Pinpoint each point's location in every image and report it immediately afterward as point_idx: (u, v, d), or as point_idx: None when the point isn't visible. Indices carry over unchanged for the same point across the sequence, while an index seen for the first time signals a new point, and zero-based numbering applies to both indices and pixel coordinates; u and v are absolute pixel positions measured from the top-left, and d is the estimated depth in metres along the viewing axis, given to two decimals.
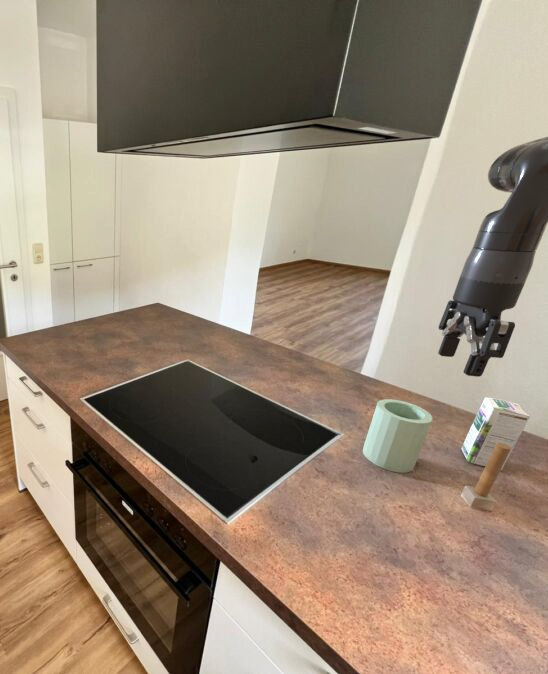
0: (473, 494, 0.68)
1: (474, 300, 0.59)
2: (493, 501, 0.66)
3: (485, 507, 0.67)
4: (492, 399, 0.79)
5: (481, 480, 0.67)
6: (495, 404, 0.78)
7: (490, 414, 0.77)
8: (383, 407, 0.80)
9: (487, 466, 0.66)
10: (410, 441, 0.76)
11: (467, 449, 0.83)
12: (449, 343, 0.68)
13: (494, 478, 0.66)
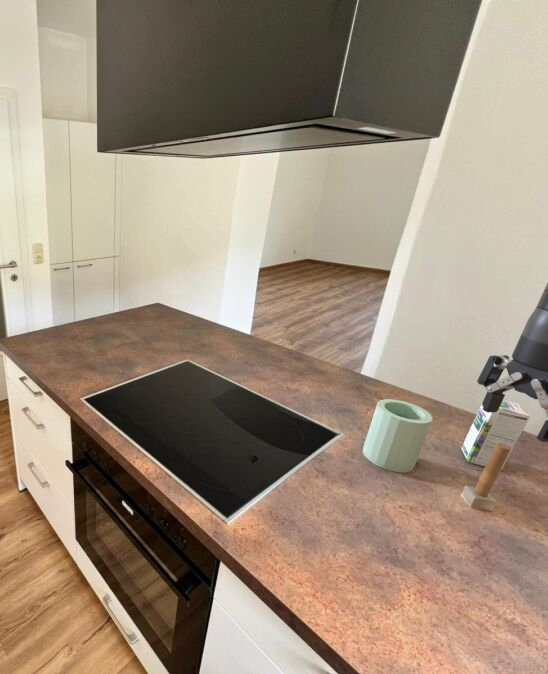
0: (473, 494, 0.68)
1: None
2: (493, 501, 0.66)
3: (485, 507, 0.67)
4: None
5: (481, 480, 0.67)
6: None
7: (489, 414, 0.77)
8: (383, 407, 0.80)
9: (487, 466, 0.66)
10: (410, 441, 0.76)
11: (467, 449, 0.83)
12: (495, 399, 0.65)
13: (494, 478, 0.66)
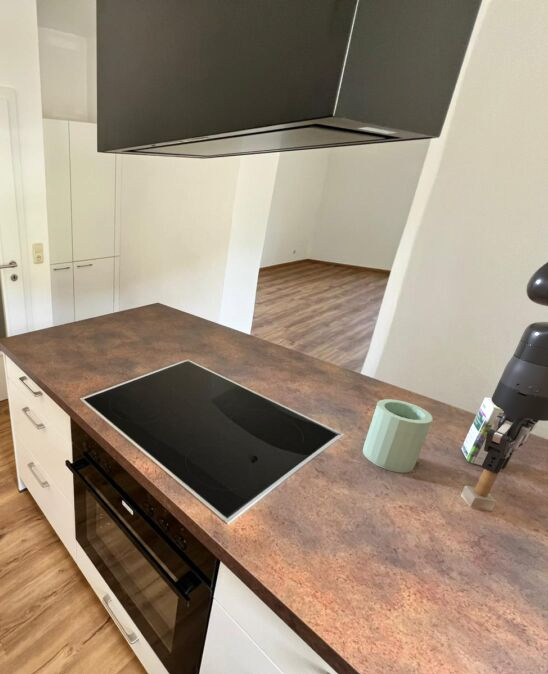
0: (473, 494, 0.68)
1: None
2: (493, 500, 0.66)
3: (485, 507, 0.67)
4: None
5: (481, 480, 0.67)
6: None
7: (489, 414, 0.77)
8: (383, 407, 0.80)
9: None
10: (410, 441, 0.76)
11: (467, 449, 0.83)
12: None
13: (494, 478, 0.66)
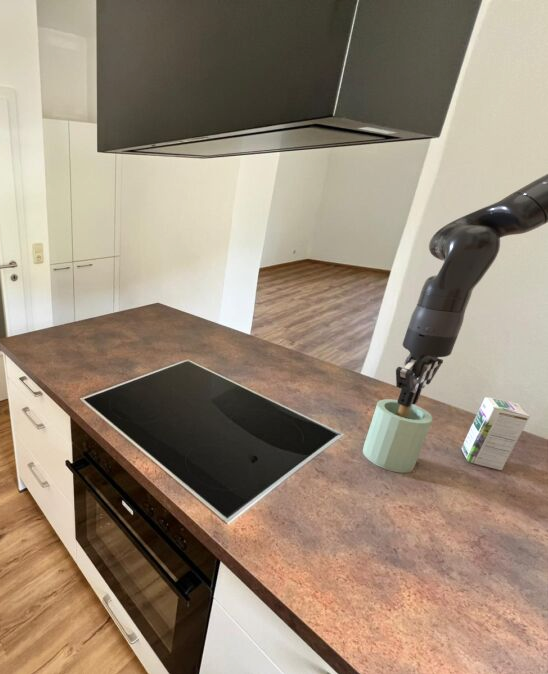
0: None
1: None
2: None
3: None
4: (492, 399, 0.79)
5: (398, 414, 0.79)
6: (495, 404, 0.78)
7: (489, 414, 0.77)
8: (383, 407, 0.80)
9: None
10: (410, 441, 0.76)
11: (467, 449, 0.83)
12: None
13: (407, 412, 0.78)
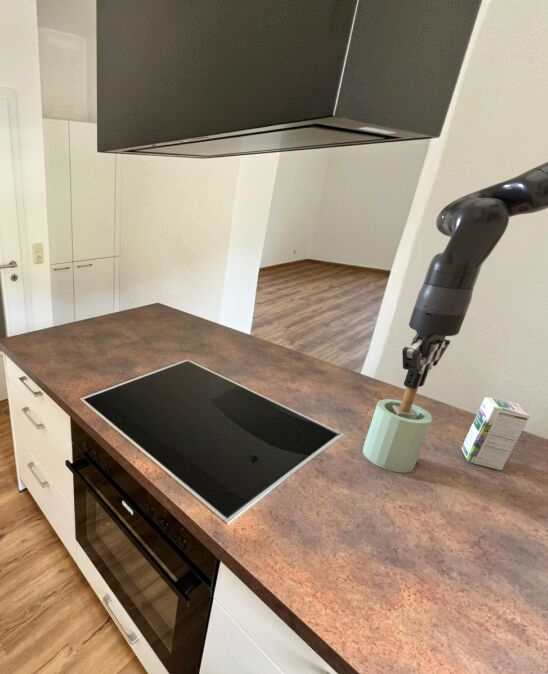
0: (398, 410, 0.78)
1: None
2: (413, 414, 0.77)
3: None
4: (492, 399, 0.79)
5: (404, 397, 0.77)
6: (495, 404, 0.78)
7: (489, 414, 0.77)
8: (383, 407, 0.80)
9: None
10: (410, 441, 0.76)
11: (467, 449, 0.83)
12: None
13: (414, 394, 0.76)
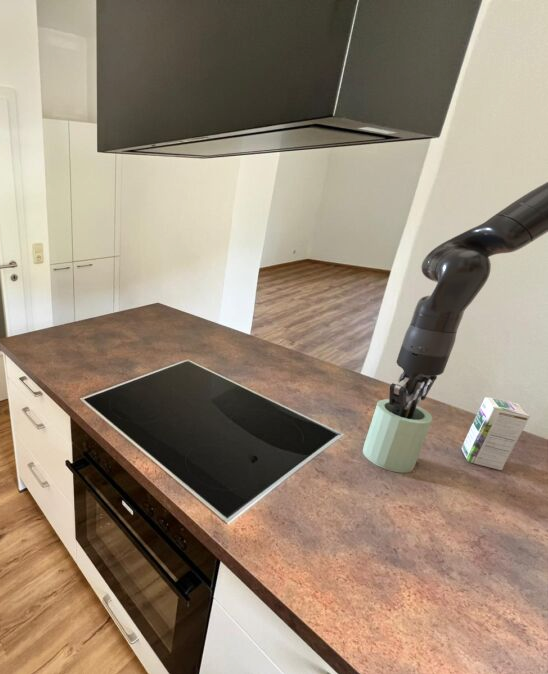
0: None
1: None
2: None
3: None
4: (492, 399, 0.79)
5: None
6: (495, 404, 0.78)
7: (489, 414, 0.77)
8: (383, 407, 0.80)
9: None
10: (410, 441, 0.76)
11: (467, 449, 0.83)
12: None
13: None
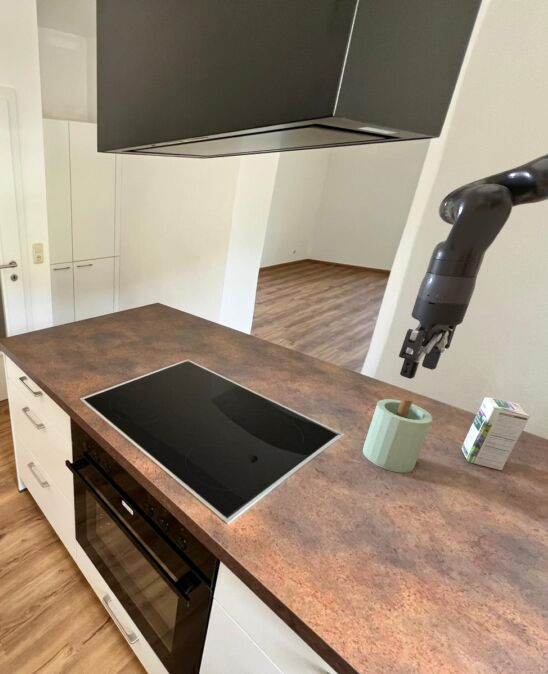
0: None
1: None
2: None
3: None
4: (492, 399, 0.79)
5: None
6: (495, 404, 0.78)
7: (489, 414, 0.77)
8: (383, 407, 0.80)
9: None
10: (410, 441, 0.76)
11: (467, 449, 0.83)
12: None
13: None
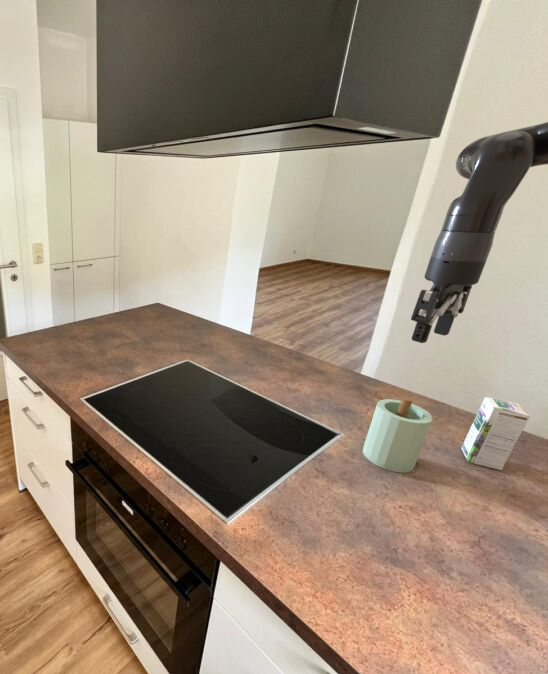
0: None
1: None
2: None
3: None
4: (492, 399, 0.79)
5: None
6: (495, 404, 0.78)
7: (489, 414, 0.77)
8: (383, 407, 0.80)
9: None
10: (410, 441, 0.76)
11: (467, 449, 0.83)
12: None
13: None
